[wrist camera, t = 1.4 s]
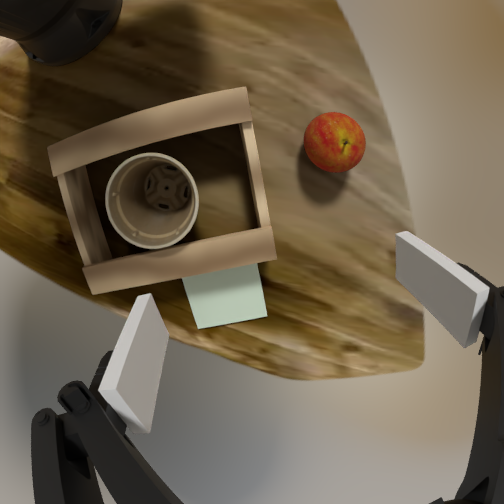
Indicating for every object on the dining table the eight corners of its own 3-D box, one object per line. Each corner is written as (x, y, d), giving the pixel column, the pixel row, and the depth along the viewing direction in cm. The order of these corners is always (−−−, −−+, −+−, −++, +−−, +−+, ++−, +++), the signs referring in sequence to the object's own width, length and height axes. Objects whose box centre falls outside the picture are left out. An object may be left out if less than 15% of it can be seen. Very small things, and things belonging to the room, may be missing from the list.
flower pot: (140, 231, 36) (119, 257, 28) (123, 160, 33) (95, 167, 25) (211, 217, 37) (207, 239, 29) (197, 141, 33) (187, 142, 25)
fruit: (356, 125, 34) (387, 124, 26) (341, 176, 36) (369, 186, 28) (305, 106, 32) (327, 99, 25) (290, 159, 35) (308, 165, 27)
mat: (179, 263, 38) (178, 266, 38) (254, 248, 38) (254, 251, 38) (198, 325, 42) (198, 328, 41) (266, 312, 42) (267, 316, 41)
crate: (74, 144, 31) (46, 147, 25) (242, 96, 31) (245, 86, 25) (110, 271, 38) (92, 294, 32) (268, 238, 38) (276, 258, 32)
